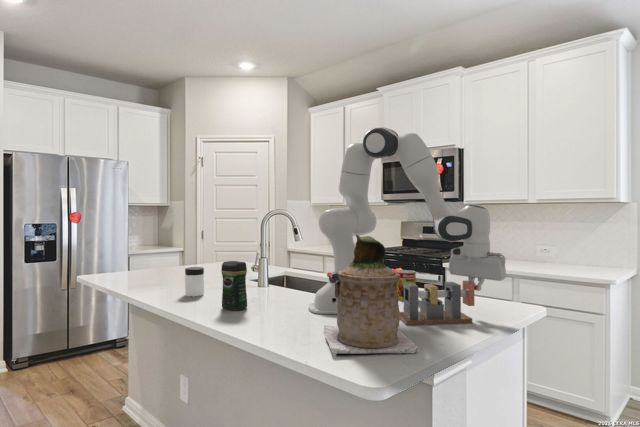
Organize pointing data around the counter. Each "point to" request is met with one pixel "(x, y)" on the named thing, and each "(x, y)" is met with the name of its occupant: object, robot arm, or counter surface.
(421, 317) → the shaft rig
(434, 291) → the frame
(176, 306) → the counter surface
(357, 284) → the cookie jar
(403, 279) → the canned food
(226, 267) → the coffee jar
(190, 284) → the jar
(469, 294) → the shaft
